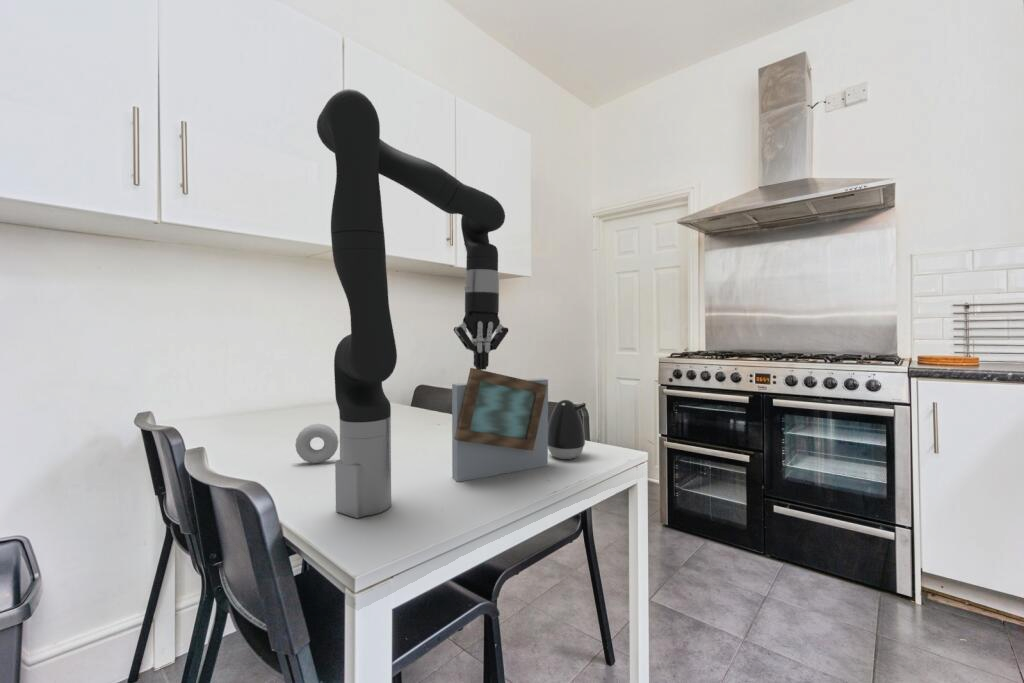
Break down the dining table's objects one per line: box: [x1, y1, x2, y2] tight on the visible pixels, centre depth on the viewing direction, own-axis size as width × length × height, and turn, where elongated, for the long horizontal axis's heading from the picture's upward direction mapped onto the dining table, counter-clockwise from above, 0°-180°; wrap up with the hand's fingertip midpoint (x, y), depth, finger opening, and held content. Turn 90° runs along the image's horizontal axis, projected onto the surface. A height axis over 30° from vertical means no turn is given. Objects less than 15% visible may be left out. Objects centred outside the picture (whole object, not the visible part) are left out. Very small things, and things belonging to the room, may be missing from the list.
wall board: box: [451, 377, 549, 482], centre depth 105 cm, size 24×3×22 cm, turn 119°
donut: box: [295, 423, 339, 464], centre depth 111 cm, size 10×4×10 cm, turn 104°
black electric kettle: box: [548, 399, 587, 460], centre depth 117 cm, size 10×10×15 cm
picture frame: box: [454, 367, 547, 451], centre depth 102 cm, size 20×2×16 cm, turn 119°
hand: (481, 369), depth 99 cm, fingers closed
